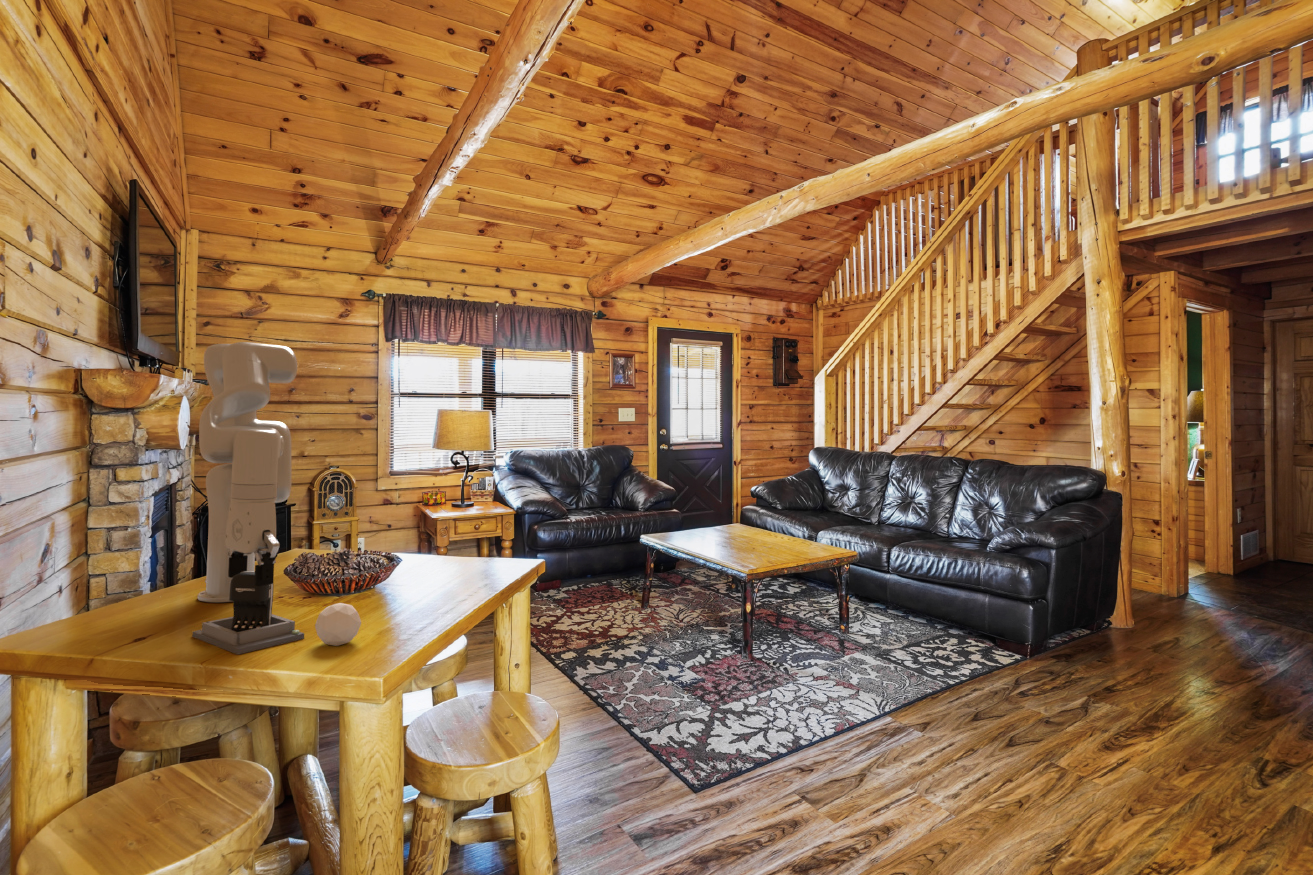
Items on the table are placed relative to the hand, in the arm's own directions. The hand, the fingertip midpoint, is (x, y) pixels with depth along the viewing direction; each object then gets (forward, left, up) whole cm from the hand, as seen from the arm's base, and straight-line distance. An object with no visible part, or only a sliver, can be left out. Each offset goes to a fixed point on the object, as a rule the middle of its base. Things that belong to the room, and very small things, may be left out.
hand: (250, 580), depth 126 cm
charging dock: (+1, 0, -11) cm, 11 cm away
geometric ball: (+17, +8, -11) cm, 22 cm away
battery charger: (+1, 0, -10) cm, 10 cm away
